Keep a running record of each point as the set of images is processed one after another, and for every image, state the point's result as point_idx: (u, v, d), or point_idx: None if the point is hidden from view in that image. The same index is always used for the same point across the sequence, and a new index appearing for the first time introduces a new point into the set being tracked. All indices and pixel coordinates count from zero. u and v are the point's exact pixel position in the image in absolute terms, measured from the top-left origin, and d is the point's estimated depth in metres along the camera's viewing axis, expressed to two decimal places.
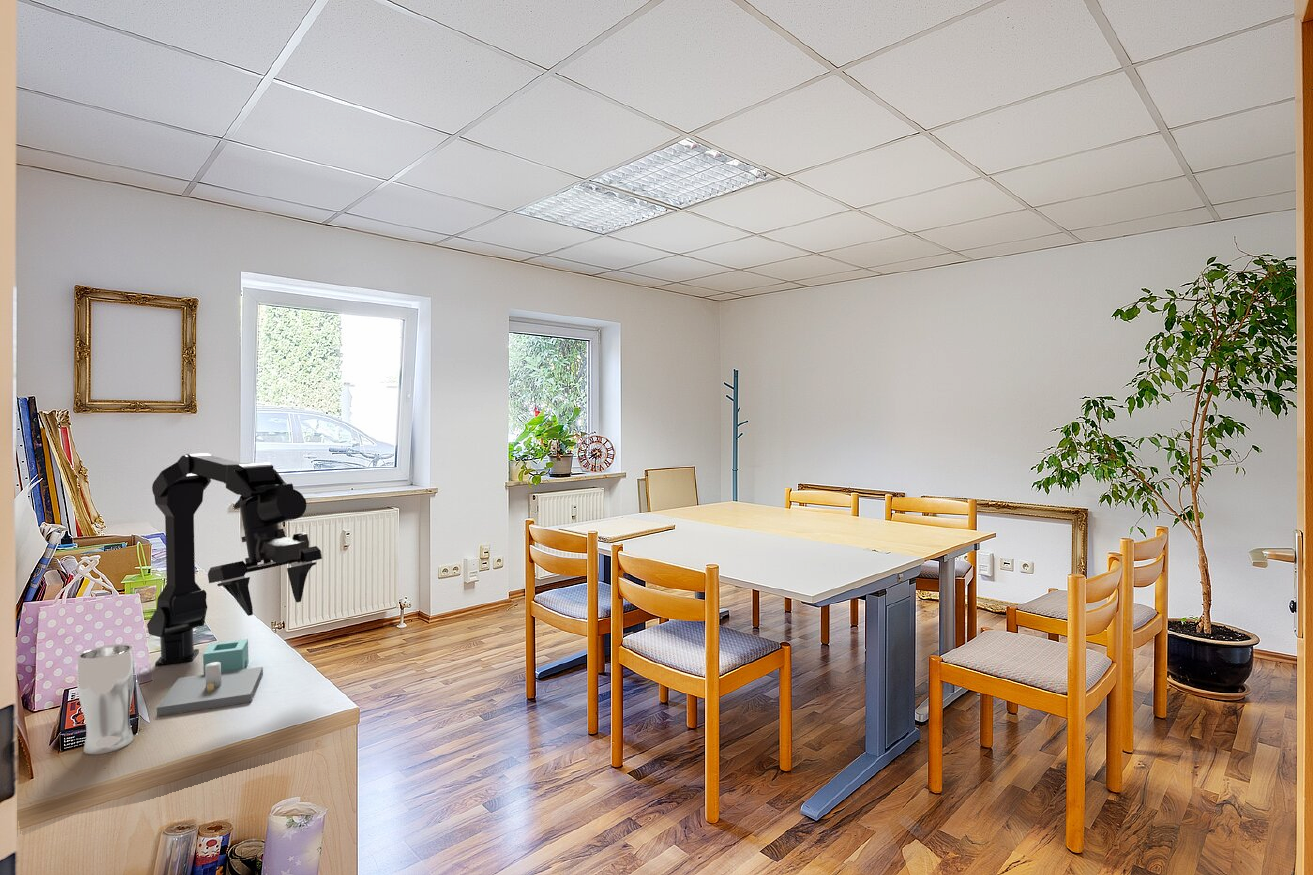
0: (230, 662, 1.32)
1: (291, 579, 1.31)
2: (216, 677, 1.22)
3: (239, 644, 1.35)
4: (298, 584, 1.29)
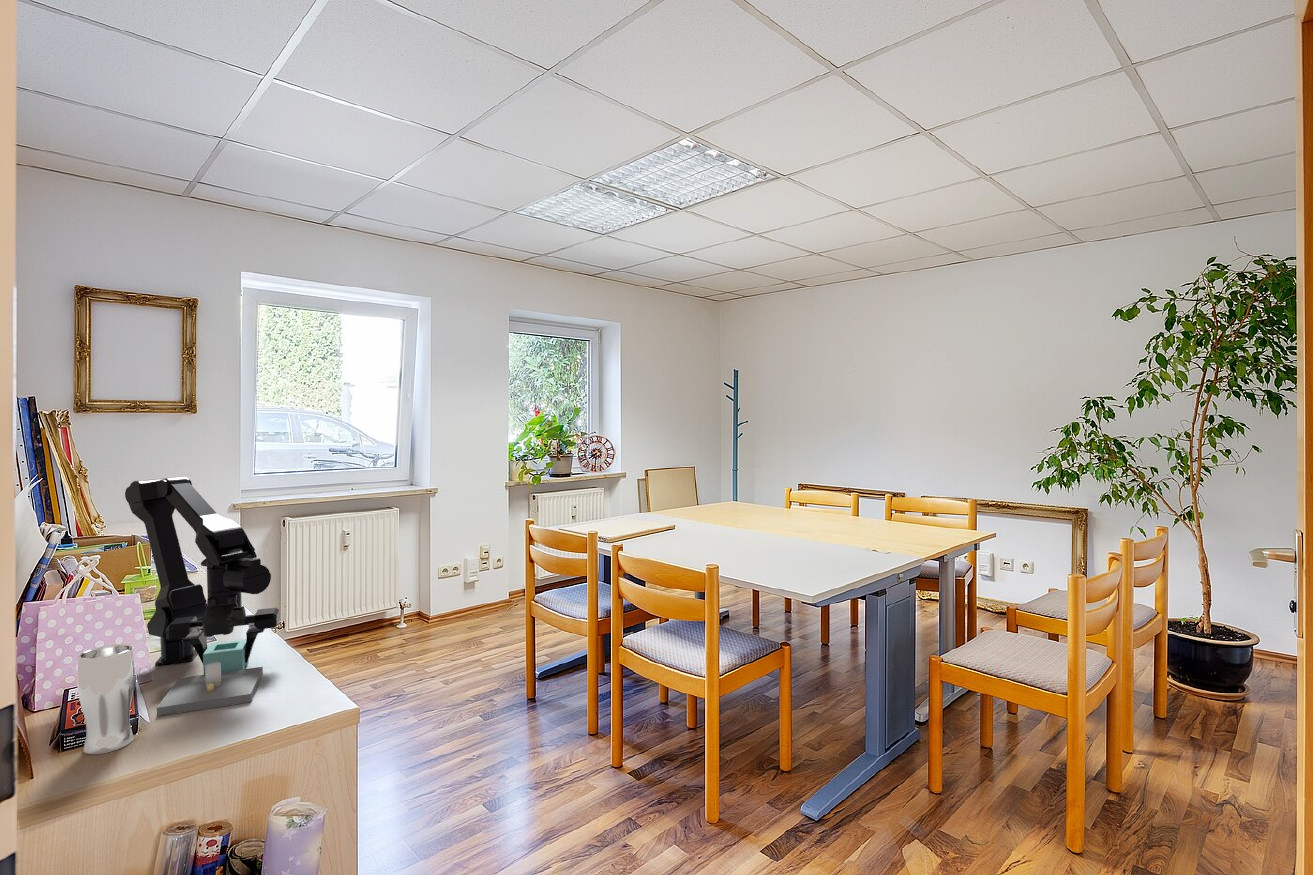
0: (230, 662, 1.32)
1: None
2: (216, 677, 1.22)
3: (239, 644, 1.35)
4: None
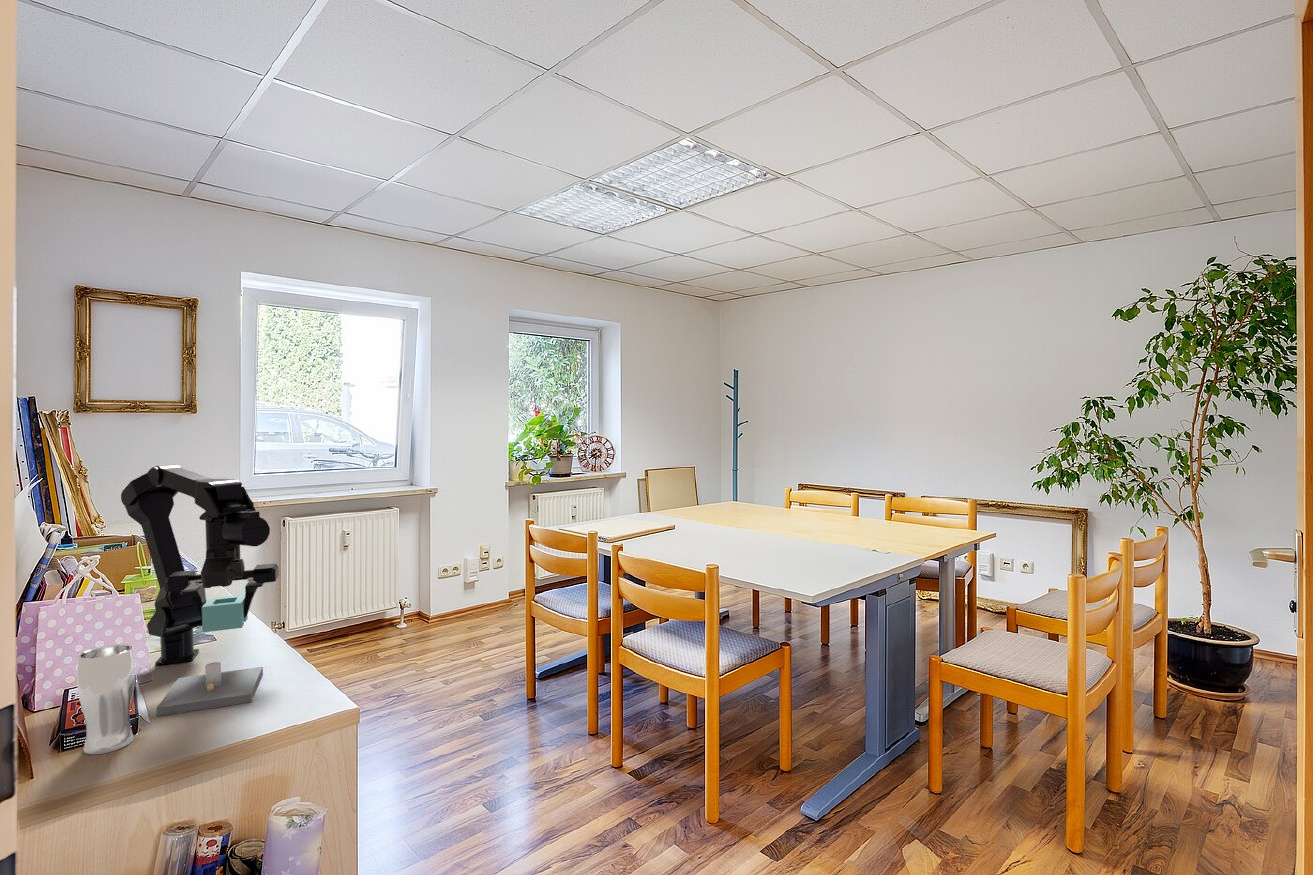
0: (229, 616, 1.31)
1: None
2: (216, 677, 1.22)
3: (238, 598, 1.35)
4: None
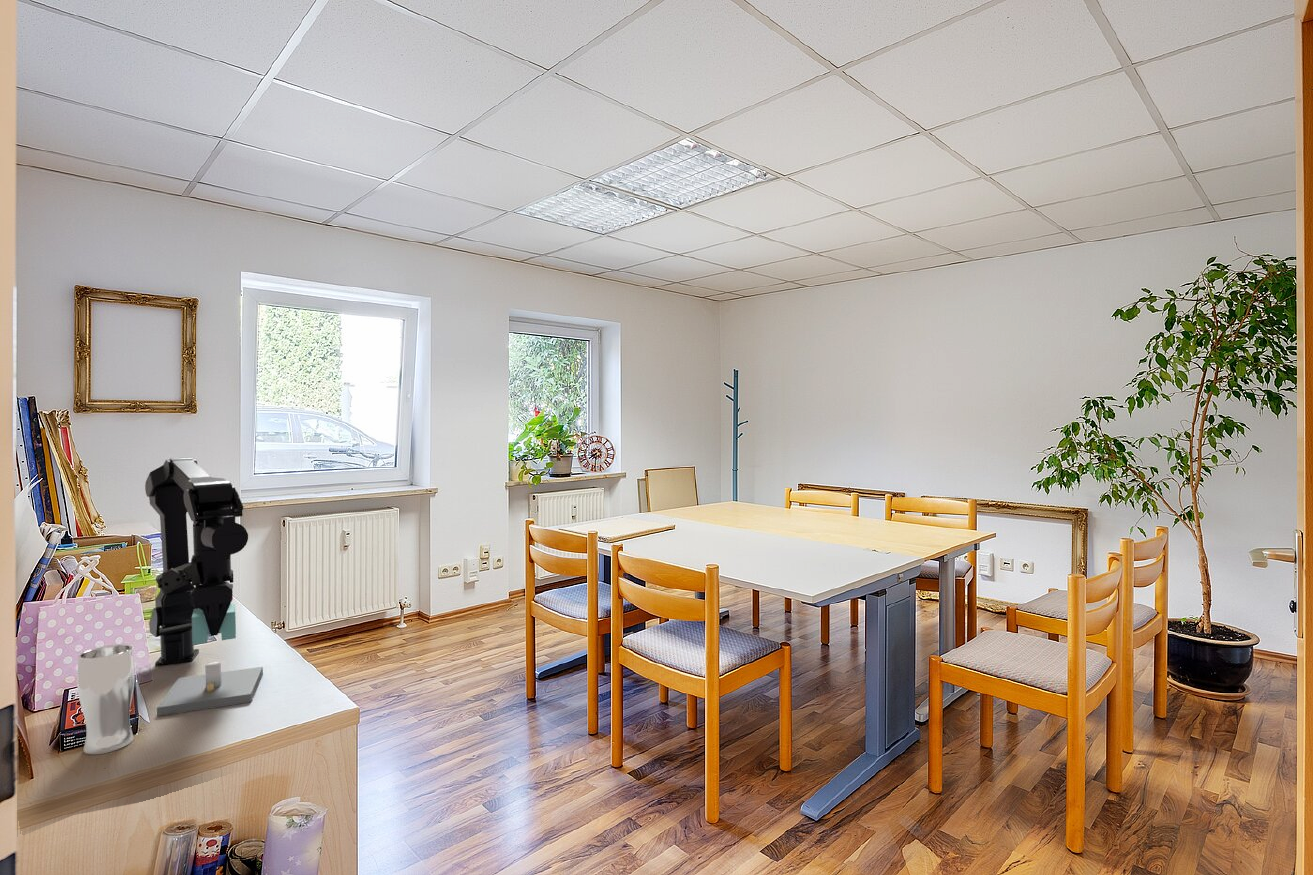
0: None
1: None
2: (216, 677, 1.22)
3: None
4: None
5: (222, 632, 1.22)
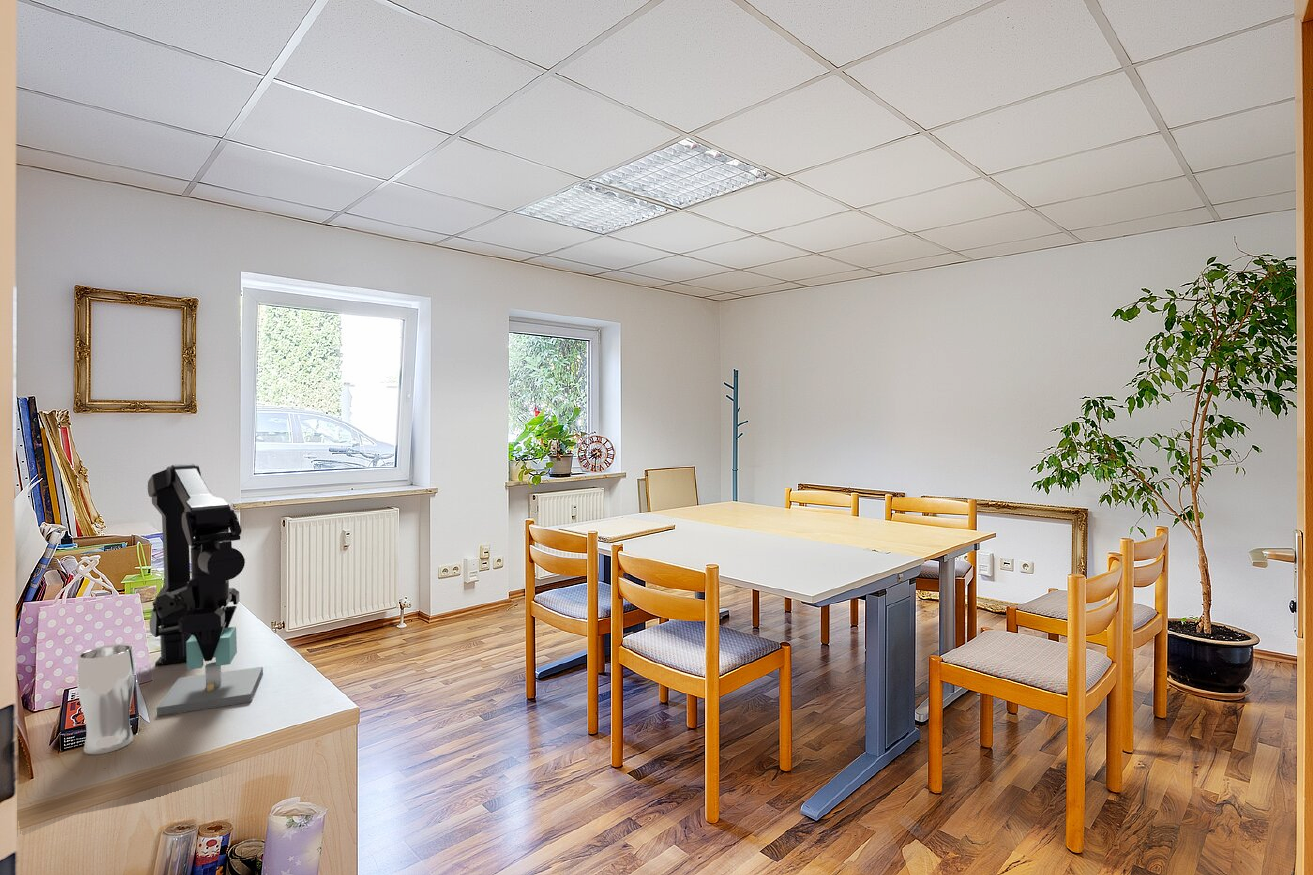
0: None
1: None
2: (216, 677, 1.22)
3: None
4: None
5: (216, 658, 1.20)
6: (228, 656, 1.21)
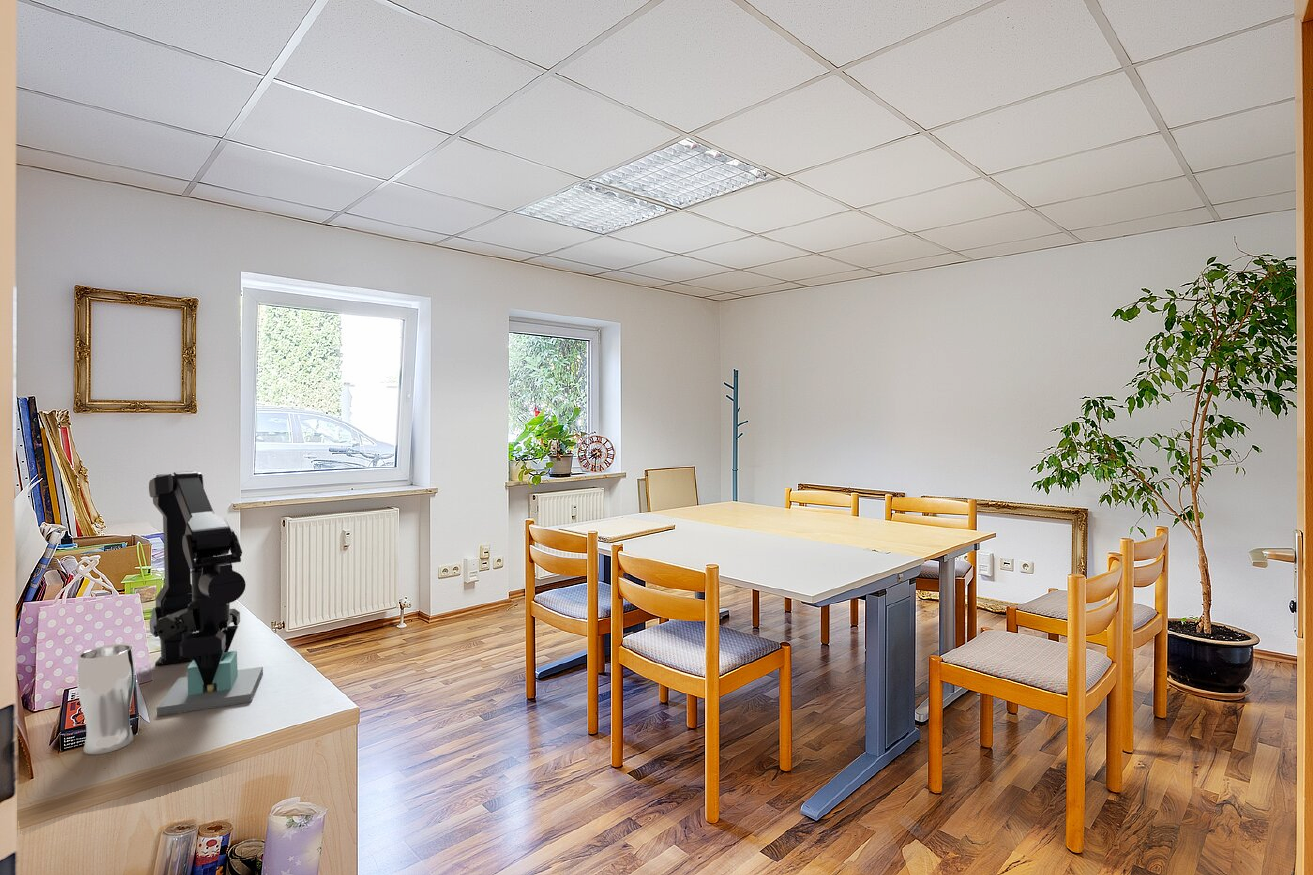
0: None
1: None
2: None
3: None
4: None
5: (217, 683, 1.21)
6: (229, 681, 1.21)
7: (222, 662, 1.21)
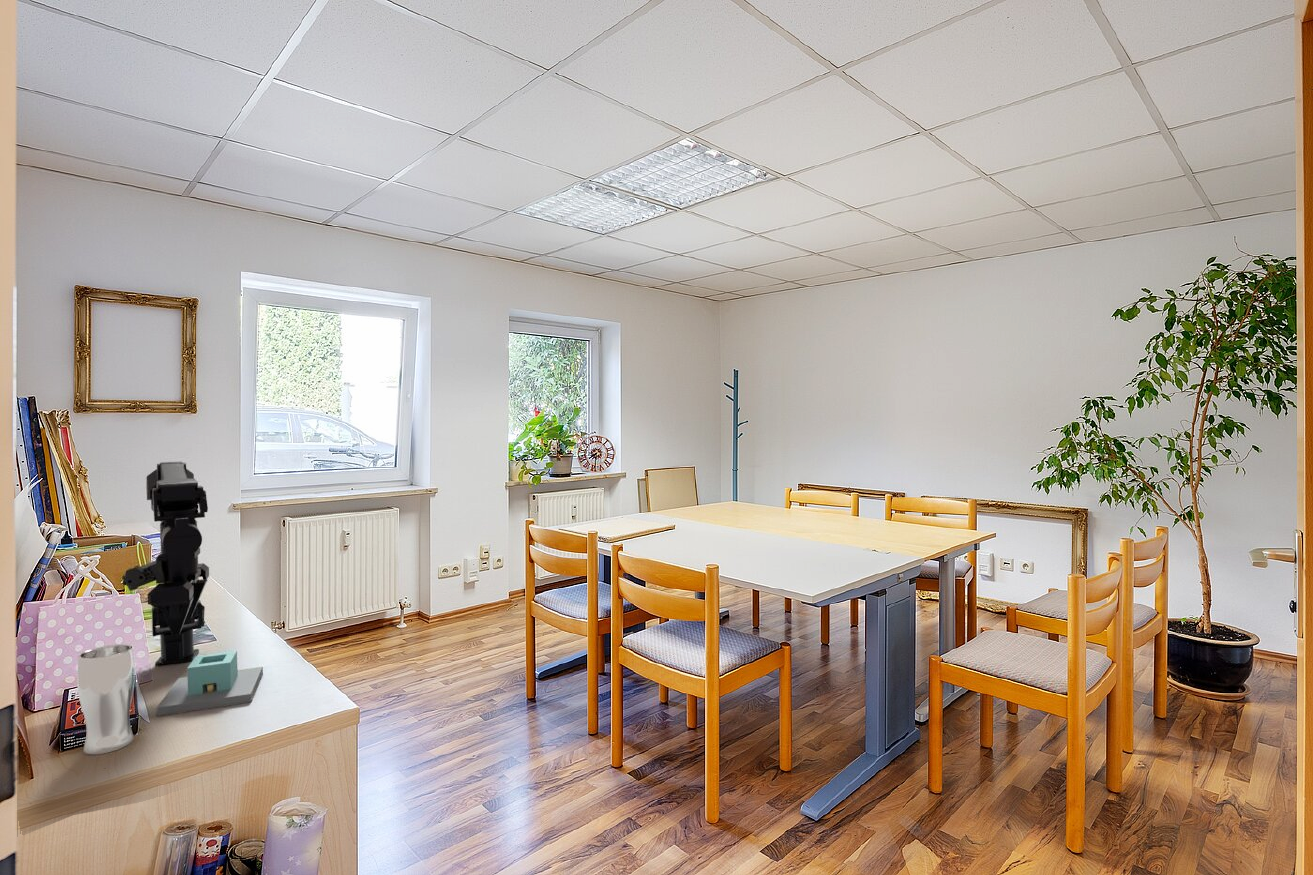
0: None
1: None
2: None
3: (213, 662, 1.21)
4: None
5: (217, 683, 1.21)
6: (229, 681, 1.21)
7: (222, 662, 1.21)
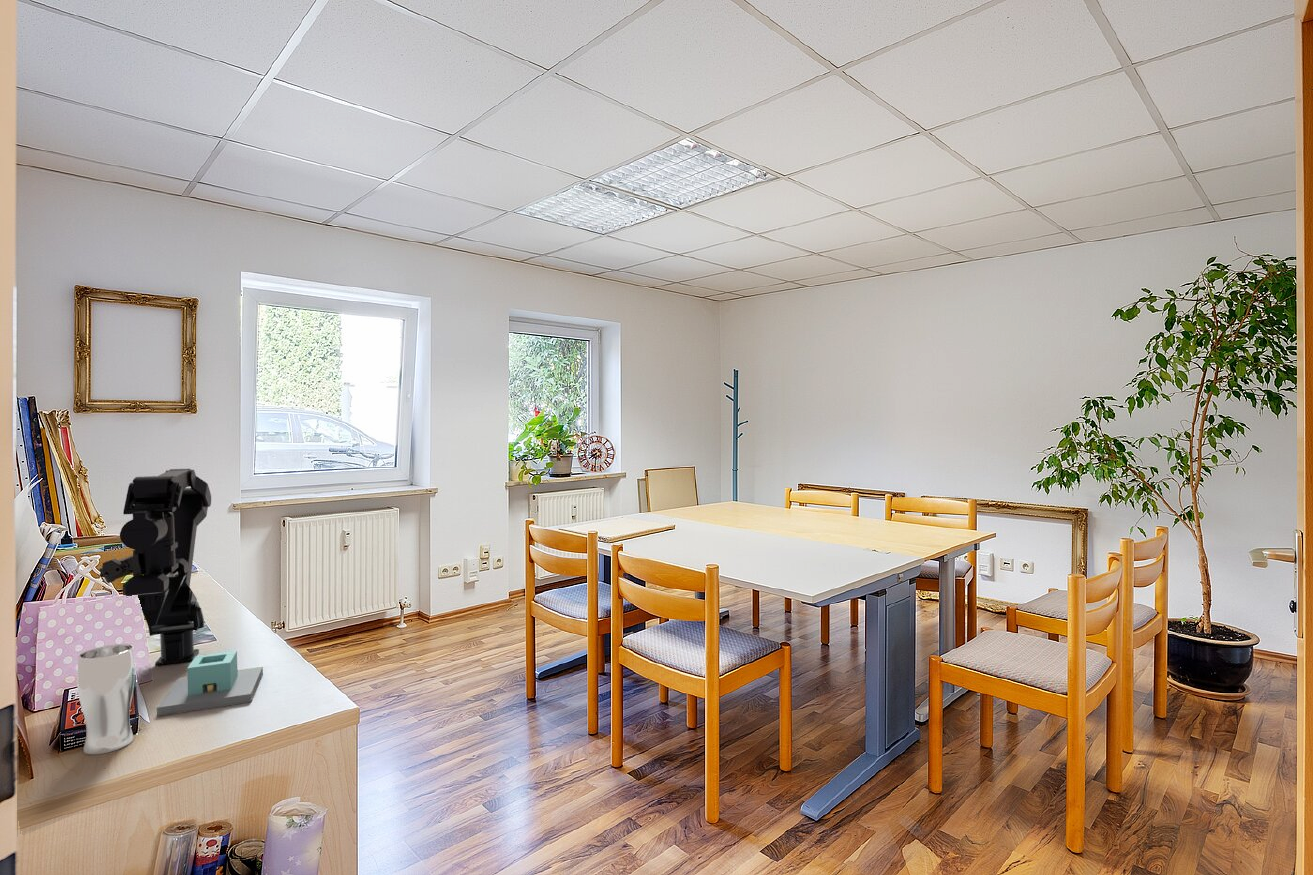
0: None
1: None
2: None
3: (213, 662, 1.21)
4: None
5: (217, 683, 1.21)
6: (229, 681, 1.21)
7: (222, 662, 1.21)
